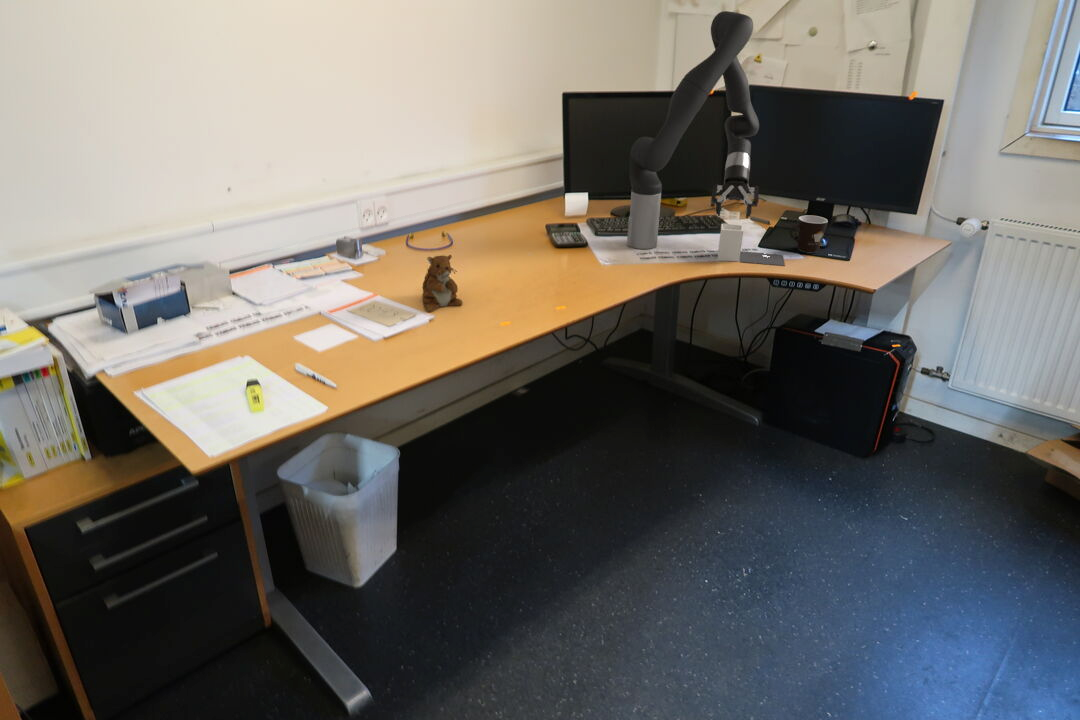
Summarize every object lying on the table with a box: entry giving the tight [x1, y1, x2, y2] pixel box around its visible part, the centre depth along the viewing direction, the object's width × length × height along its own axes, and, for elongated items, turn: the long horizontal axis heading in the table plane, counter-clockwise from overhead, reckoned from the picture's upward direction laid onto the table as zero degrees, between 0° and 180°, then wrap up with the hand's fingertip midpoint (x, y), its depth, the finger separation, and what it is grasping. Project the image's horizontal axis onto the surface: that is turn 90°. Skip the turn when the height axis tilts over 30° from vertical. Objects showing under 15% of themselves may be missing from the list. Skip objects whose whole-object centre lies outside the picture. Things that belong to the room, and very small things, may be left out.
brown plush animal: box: [421, 254, 464, 313], centre depth 192 cm, size 10×14×13 cm
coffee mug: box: [789, 214, 829, 252], centre depth 233 cm, size 12×9×10 cm
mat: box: [739, 250, 786, 267], centre depth 227 cm, size 13×10×1 cm
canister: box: [717, 223, 744, 262], centre depth 226 cm, size 6×6×10 cm
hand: (733, 216), depth 229 cm, fingers open, 8 cm apart
